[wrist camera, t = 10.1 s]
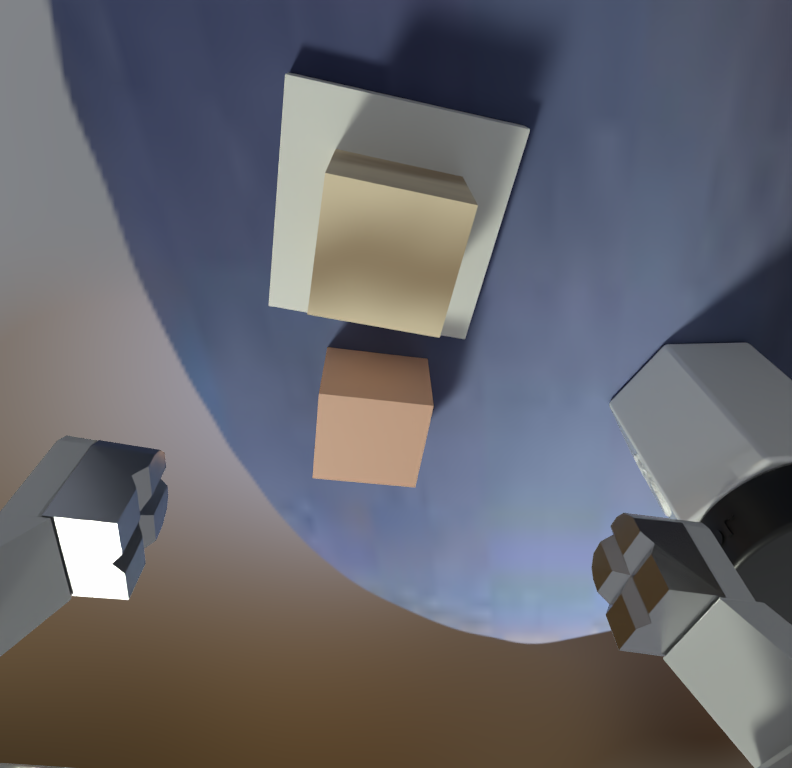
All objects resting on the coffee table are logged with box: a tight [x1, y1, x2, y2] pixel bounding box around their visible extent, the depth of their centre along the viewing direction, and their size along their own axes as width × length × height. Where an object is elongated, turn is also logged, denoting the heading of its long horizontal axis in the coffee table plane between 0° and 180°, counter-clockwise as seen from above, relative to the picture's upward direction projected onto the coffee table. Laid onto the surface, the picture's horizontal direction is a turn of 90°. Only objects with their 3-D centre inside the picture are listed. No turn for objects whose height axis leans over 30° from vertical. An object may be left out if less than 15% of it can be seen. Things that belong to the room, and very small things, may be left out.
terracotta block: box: [313, 347, 434, 487], centre depth 28 cm, size 6×6×4 cm
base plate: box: [269, 72, 530, 339], centre depth 24 cm, size 10×10×1 cm
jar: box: [609, 342, 792, 625], centre depth 26 cm, size 9×8×12 cm
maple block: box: [307, 149, 478, 338], centre depth 22 cm, size 6×6×4 cm
